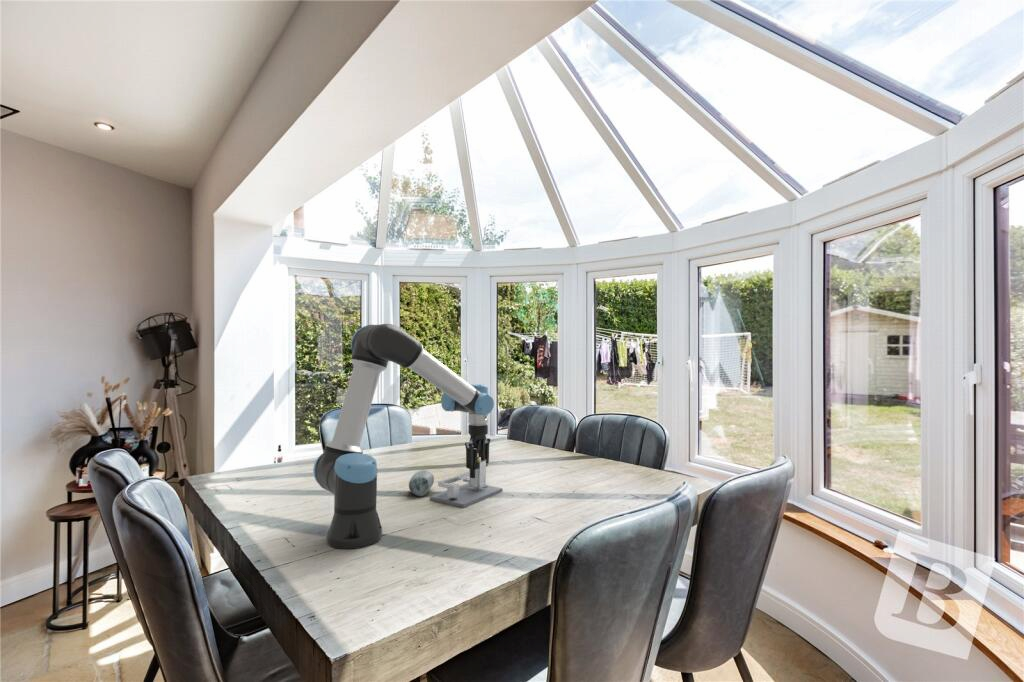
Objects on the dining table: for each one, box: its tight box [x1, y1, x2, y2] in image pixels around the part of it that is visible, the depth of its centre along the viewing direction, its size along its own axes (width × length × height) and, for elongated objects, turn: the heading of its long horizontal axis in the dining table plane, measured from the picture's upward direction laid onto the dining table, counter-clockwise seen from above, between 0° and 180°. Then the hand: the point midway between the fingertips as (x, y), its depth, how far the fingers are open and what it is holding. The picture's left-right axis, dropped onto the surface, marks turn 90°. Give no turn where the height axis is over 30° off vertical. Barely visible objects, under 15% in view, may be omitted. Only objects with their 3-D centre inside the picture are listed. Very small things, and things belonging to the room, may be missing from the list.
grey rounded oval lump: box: [408, 469, 435, 497], centre depth 182 cm, size 14×10×10 cm
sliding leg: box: [462, 456, 487, 489], centre depth 183 cm, size 4×9×12 cm, turn 57°
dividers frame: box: [437, 471, 469, 499], centre depth 180 cm, size 24×9×5 cm, turn 147°
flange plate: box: [429, 482, 503, 509], centre depth 179 cm, size 24×16×1 cm, turn 147°
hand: (477, 484), depth 182 cm, fingers closed on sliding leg, 4 cm apart
